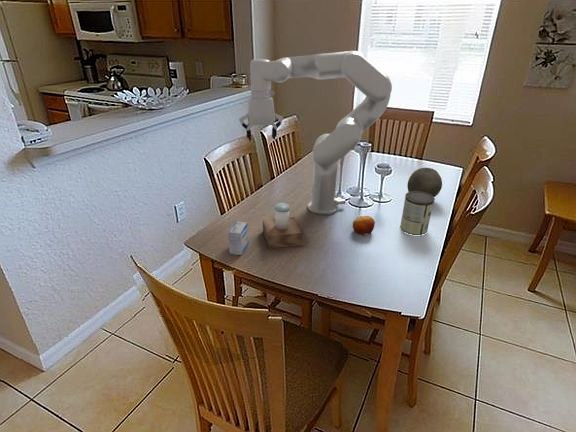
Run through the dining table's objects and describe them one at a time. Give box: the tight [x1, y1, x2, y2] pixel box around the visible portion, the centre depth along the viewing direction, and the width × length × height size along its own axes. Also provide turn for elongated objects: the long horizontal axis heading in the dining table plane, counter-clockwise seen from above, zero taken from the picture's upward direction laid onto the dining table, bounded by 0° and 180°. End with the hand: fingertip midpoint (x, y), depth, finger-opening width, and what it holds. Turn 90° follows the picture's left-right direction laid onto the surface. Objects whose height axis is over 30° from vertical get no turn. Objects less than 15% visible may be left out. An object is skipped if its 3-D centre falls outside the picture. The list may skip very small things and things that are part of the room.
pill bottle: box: [274, 202, 291, 230], centre depth 132 cm, size 5×5×8 cm
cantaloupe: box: [407, 167, 443, 198], centre depth 163 cm, size 14×14×15 cm
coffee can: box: [399, 191, 436, 235], centre depth 140 cm, size 10×10×14 cm
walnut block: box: [262, 216, 303, 249], centre depth 135 cm, size 12×12×5 cm
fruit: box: [352, 215, 376, 237], centre depth 139 cm, size 8×8×8 cm
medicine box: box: [227, 221, 249, 256], centre depth 128 cm, size 8×4×9 cm, turn 168°
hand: (261, 139), depth 148 cm, fingers open, 9 cm apart
